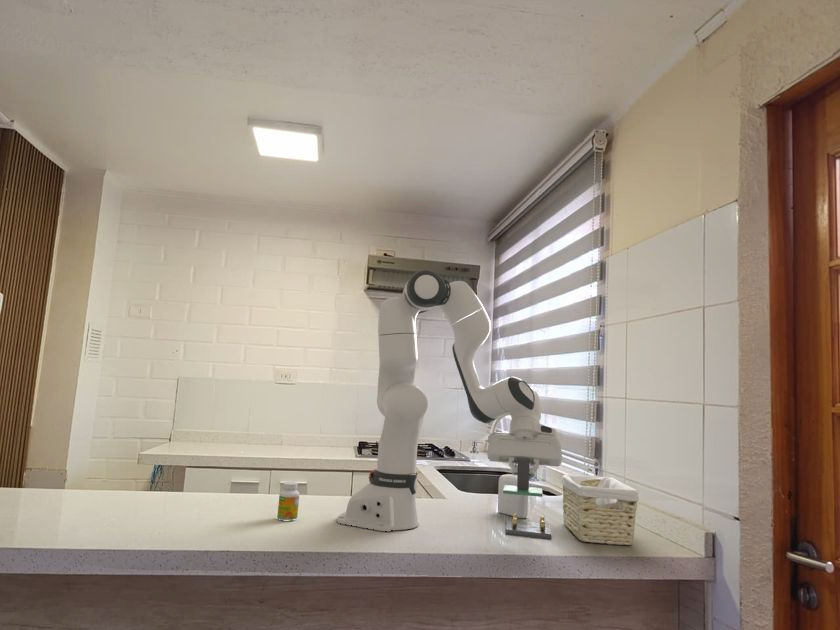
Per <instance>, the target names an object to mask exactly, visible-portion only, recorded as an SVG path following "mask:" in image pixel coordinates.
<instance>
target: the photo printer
mask: <svg viewBox="0 0 840 630" xmlns="http://www.w3.org/2000/svg"><path fill="white" fill-rule="evenodd" d="M505 485H510V486H517V475H512V473H506V474H502V475H500V477H499V478H498V488H497V492H498V494H497V512H498V513H500V514H504V515H508V516H512V517H513V514H514V513H515V514H517V519H525V518H527V517H528V510H529V509H528V504H529V502H528V500H529V498H528V497H529V496H527V495H516V494H505V493H503V489H504V486H505Z"/></svg>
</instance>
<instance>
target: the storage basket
mask: <svg viewBox="0 0 840 630" xmlns="http://www.w3.org/2000/svg"><path fill="white" fill-rule="evenodd" d="M560 482H561V485H562V509H563V511H562V512H563V513H562V516H563V524H564V525H565V526H566V527H567V528H568V529H569V530H570V532H571V533H572V534H573V535H574V536H575V537H576V538H577V540H579V541H582V542H584V543H585V542H586V543H592V544H593V543H595V544H597V543H598V544H607V545H618V546H631V545H634V538H635V537H634V536H635V529H636V524H635V523H636V512H637V508H638V507H637V506H638V502H639V500H640V499H639V491H638V490H637V489H635V488H634V487H631V486H629V485H628V484H625V483H623V482H621V481H619V480H618V479H616V478H614V477H612V476H597V475H580V474H579V475H578V474H567V473H565V474H563V475H562V478H561V481H560Z"/></svg>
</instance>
